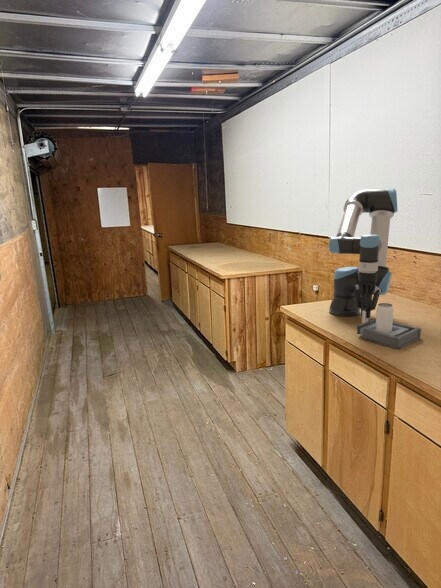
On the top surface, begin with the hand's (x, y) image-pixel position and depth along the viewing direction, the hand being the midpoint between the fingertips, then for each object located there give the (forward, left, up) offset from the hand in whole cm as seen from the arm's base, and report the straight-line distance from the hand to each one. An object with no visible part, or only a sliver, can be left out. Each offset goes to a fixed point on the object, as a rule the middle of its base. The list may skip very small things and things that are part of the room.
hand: (365, 324), depth 171 cm
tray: (+8, 0, -2) cm, 9 cm away
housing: (+12, 0, -4) cm, 13 cm away
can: (+9, 0, -2) cm, 9 cm away
